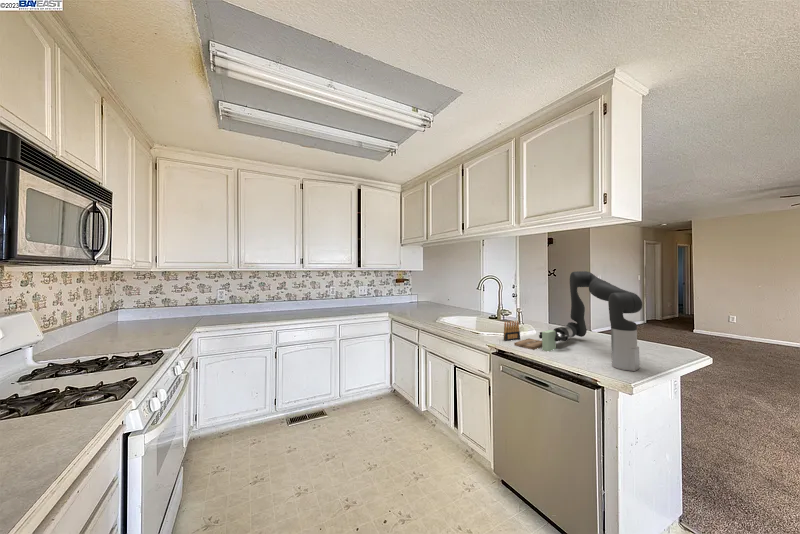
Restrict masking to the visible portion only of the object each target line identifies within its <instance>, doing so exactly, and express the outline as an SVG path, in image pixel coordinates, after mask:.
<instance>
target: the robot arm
mask: <svg viewBox="0 0 800 534" xmlns="http://www.w3.org/2000/svg"><path fill="white" fill-rule="evenodd" d="M578 288H588V291H589V293H590V294H591V295H592V296H594V297H595V298H597V299H599V300H602V301H605V302H607V303H608V315H609V322H610V339H611V341H610V342H611V343H610V345H611V346H610V347H611V349H610V350H611V366H612V368H613V367H614V368H615V369H618V370H623V371H630V372H631V371H633V372H636V371H637V370H640V367H641V366H640V347H639V345H638V327H637V326H638V325H637V323H636V322H634V321H631V320H628V319H626V318H625V317H624V314H636V313H639V312H640V311H641V310H642V309H643V301H642V298H641V297H640V296H639V295H638V294H637V293H635V292H632V291H630V290H629V291H628V290H626V289H623V288H620V287H618V286H616V285H614V284H611V282H608V281H606V280H604V279H601V278H600V277H598V276H597V275H595V274H593V273H592V272H591V271H585V270H584V271H583V270H580V271H572V272H571V273H570V274H569V290H570V291H569V293H570V303H571V304H570V319H571V320H572V321H571V322H568V323H567V324H566V325H563V326H559V327H556V328H554V329H553V330H554V331H555V332H556V337H555V341H556V342H568V341H570V339H571V338H573V337H575V336H577V337H580V338H582V337H585V335H586V334H587V324H586V321H585V311H586V308H585V304H584V302H583V300H582V299H581V297H580V295H579V293H578V292H579V291H578ZM573 321H574V322H573ZM542 332H544V331H540V332H539V334H538V338H539V340H540V339H541V340H542Z"/></svg>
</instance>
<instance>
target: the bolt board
mask: <svg viewBox="0 0 800 534" xmlns="http://www.w3.org/2000/svg"><path fill="white" fill-rule="evenodd" d="M513 345H514V346H516V347H519V348H524V349H528V350H533V351H535V350H538V349H540V348H541V349H542V340H540V339H539V340H538V339H533V338H526V339H522V340H518V341H516V342H514V343H513ZM537 348H538V349H537Z"/></svg>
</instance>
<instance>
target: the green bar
mask: <svg viewBox="0 0 800 534" xmlns="http://www.w3.org/2000/svg"><path fill="white" fill-rule="evenodd" d="M541 332H542V339H541V341H542V347H541V350H542V351H543V350H544V351H543V352H547V351H549V352H551V350H552V351H554V350H556V349H557V343H556V341H555V337H556V332H555V331H554V329H548V330H545V331H544V332H543V331H541ZM553 349H554V350H553Z"/></svg>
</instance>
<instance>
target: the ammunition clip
mask: <svg viewBox="0 0 800 534" xmlns="http://www.w3.org/2000/svg"><path fill="white" fill-rule="evenodd" d="M503 324H504V326H503V342H512V341H521V331H520V325H519V320H512V321H511V320H510V321H508V320H507V321H504V323H503ZM511 340H512V341H511Z"/></svg>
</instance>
